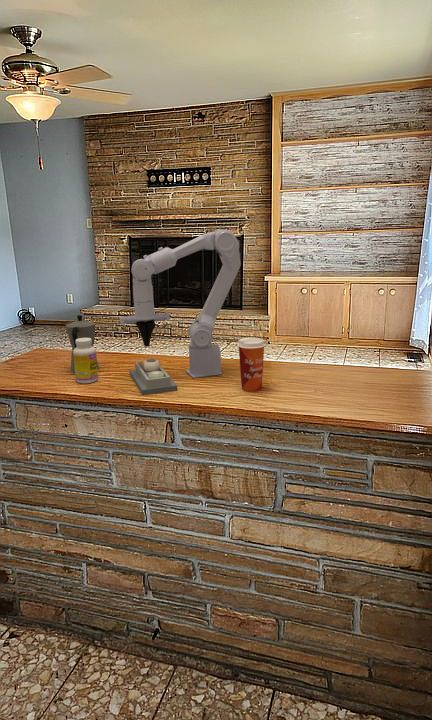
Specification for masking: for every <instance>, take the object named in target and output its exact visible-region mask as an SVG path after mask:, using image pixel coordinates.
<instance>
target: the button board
mask: <svg viewBox="0 0 432 720" xmlns="http://www.w3.org/2000/svg"><path fill="white" fill-rule="evenodd" d="M140 362H141V361H137V362H134V368H135V369H130V370H129V376H130V377H131V379H132V381H133V382H134V384H135V386H136V387H137V389H138V391H139V392H140V395H142V396H147V395H148V396H149V395H155V394H161V393H169V392H176V391H178V384H177V383H176V382H175V381H174V379H173V378H172V377H171V376H170V374H168V372H167V371H166V370H165V369H164V368H163V366H162V365H161V364H160V363H159V371H162V372H164V377H160V378H152V379H149V378H148V373H149V372H148V373H146V372H144V367H141V366H140Z"/></svg>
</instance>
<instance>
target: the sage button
mask: <svg viewBox="0 0 432 720" xmlns="http://www.w3.org/2000/svg"><path fill="white" fill-rule="evenodd" d="M160 377H164V372H162V371H152V372H149V373H148V378H149V379H152V378H160Z"/></svg>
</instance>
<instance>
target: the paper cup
mask: <svg viewBox="0 0 432 720" xmlns="http://www.w3.org/2000/svg"><path fill="white" fill-rule="evenodd" d="M237 347H238V355H239V368H240V369H239V371H240V382H241V383H240V384H241V390H243V391H244V392H251V393H252V392H254V393H255V392H259V391H261V390H262V389H263V375H264V372H263V371H264V359H265V358H264V357H265V356H264V355H265V354H264V353H265V347H266V343H265V341H264V339H263V338H260V337H252V336H251V337H244V338H243V337H242V338H241V339H239V340H238V343H237Z"/></svg>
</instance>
